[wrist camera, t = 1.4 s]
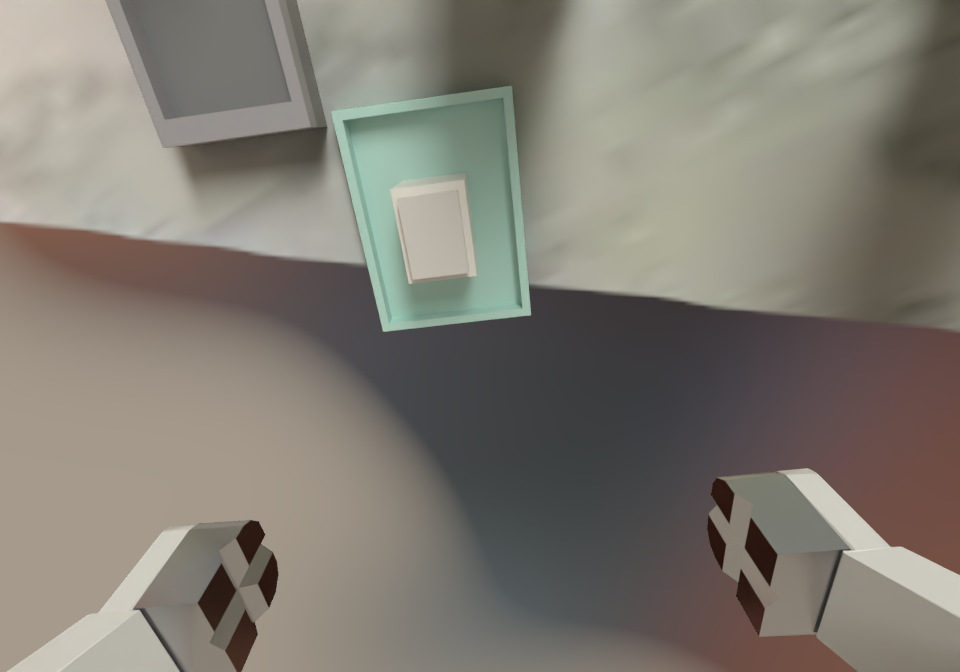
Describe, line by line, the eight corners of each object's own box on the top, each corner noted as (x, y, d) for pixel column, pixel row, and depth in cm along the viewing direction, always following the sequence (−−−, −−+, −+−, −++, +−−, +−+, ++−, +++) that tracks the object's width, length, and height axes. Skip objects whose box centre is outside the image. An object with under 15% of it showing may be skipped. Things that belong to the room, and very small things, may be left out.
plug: (466, 172, 31) (463, 181, 26) (477, 255, 34) (476, 279, 29) (403, 180, 32) (387, 191, 26) (418, 262, 34) (407, 287, 29)
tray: (510, 87, 30) (511, 85, 28) (529, 307, 36) (530, 315, 35) (337, 111, 30) (331, 111, 29) (386, 324, 37) (383, 331, 35)
